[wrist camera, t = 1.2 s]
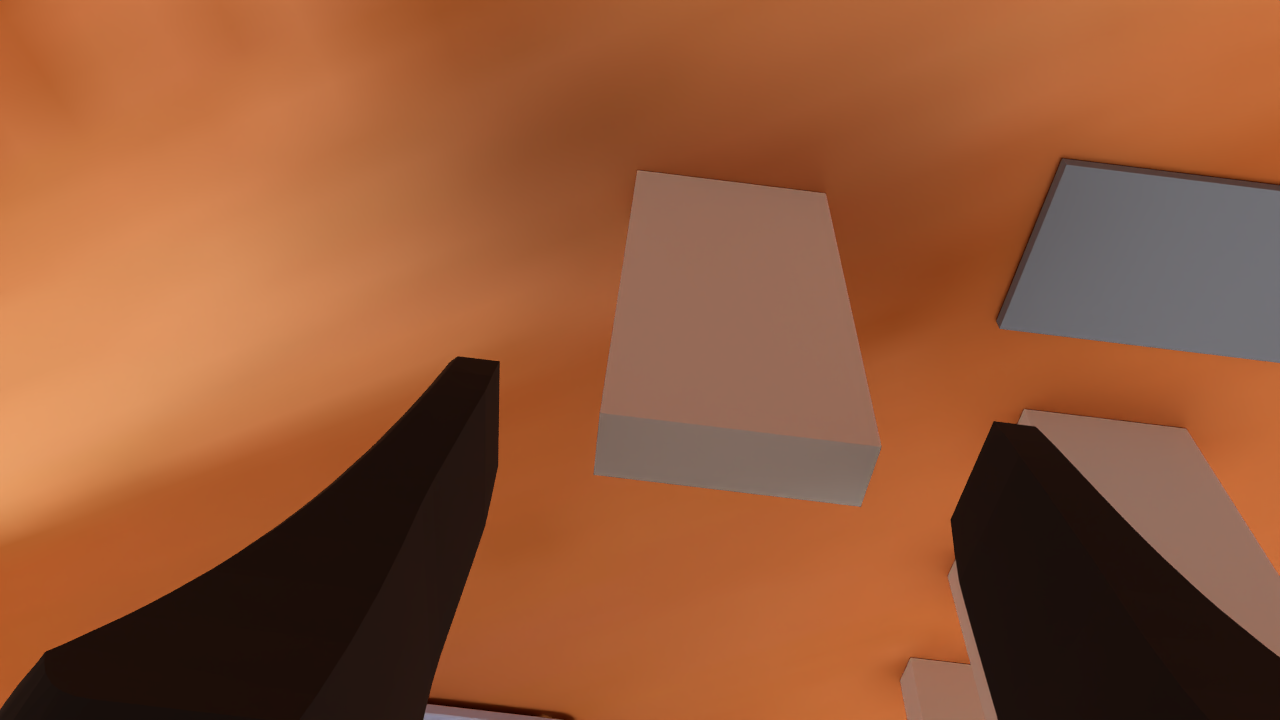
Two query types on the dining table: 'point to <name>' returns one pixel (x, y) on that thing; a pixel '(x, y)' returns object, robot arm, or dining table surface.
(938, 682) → the domino
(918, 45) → the dining table surface
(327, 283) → the dining table surface
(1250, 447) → the dining table surface
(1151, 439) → the domino
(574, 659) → the dining table surface
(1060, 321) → the plate
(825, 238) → the domino
